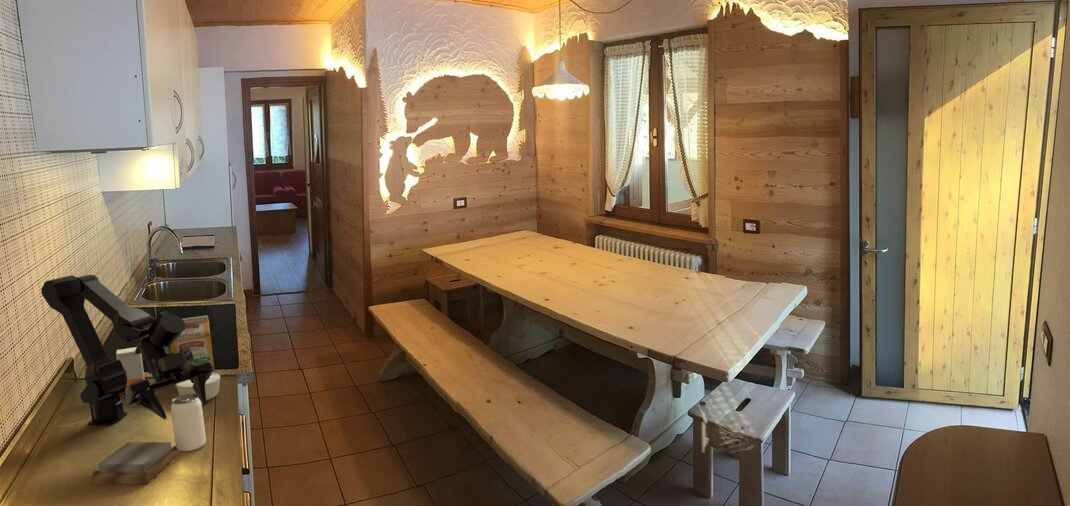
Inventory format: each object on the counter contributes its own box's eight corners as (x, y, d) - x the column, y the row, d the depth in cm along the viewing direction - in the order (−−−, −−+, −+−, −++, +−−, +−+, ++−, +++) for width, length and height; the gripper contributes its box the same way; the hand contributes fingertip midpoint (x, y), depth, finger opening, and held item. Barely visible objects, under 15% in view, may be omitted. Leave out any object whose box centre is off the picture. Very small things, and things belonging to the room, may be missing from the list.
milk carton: (214, 370, 209) (207, 311, 205) (215, 381, 199) (208, 320, 196) (176, 376, 204) (168, 316, 200) (175, 388, 195) (167, 325, 191)
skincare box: (120, 394, 191) (115, 354, 189) (122, 388, 195) (116, 349, 193) (145, 389, 194) (139, 350, 192) (146, 384, 198) (140, 346, 195)
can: (193, 453, 156) (187, 405, 153) (169, 451, 157) (163, 403, 155) (212, 440, 162) (206, 394, 160) (188, 438, 163) (182, 392, 161)
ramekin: (224, 386, 196) (222, 369, 195) (219, 401, 185) (217, 383, 184) (181, 392, 192) (179, 374, 191) (174, 407, 182) (172, 389, 181)
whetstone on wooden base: (93, 483, 143) (90, 466, 143) (128, 456, 155) (126, 440, 154) (147, 484, 143) (145, 466, 142) (179, 456, 155) (177, 440, 154)
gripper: (123, 350, 151) (151, 408, 147) (205, 329, 166) (233, 381, 161) (114, 376, 158) (140, 432, 153) (194, 353, 172) (220, 404, 167)
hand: (185, 411), depth 158 cm, fingers open, 9 cm apart
